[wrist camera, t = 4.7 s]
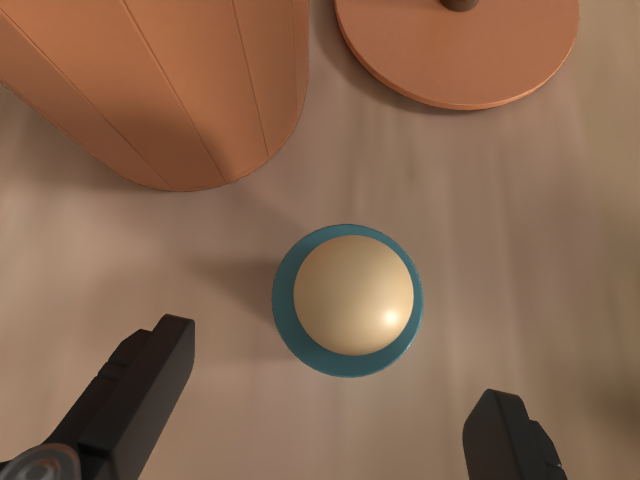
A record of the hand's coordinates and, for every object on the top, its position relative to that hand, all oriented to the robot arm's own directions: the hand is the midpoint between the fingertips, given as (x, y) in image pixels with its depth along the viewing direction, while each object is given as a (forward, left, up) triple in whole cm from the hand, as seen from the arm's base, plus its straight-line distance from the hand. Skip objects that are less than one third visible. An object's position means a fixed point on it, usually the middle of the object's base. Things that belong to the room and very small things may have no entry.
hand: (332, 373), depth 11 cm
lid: (-3, -20, -7) cm, 22 cm away
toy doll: (0, -2, -8) cm, 8 cm away
